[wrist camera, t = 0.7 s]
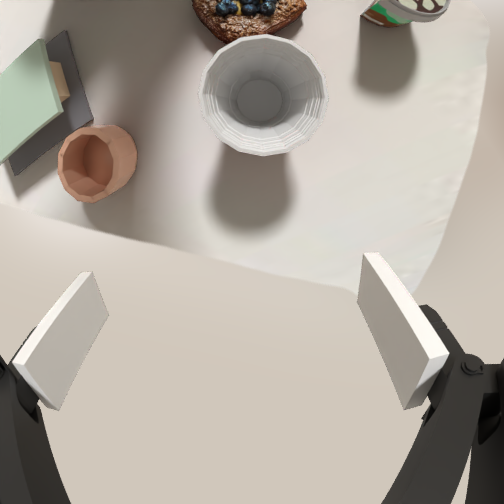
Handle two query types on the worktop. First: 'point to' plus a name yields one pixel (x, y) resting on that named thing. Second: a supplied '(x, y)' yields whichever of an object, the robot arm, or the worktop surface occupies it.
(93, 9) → the worktop surface
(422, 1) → the food container
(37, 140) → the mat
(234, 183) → the worktop surface
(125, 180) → the bowl
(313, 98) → the plastic cup
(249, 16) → the pastry
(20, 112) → the sheet
